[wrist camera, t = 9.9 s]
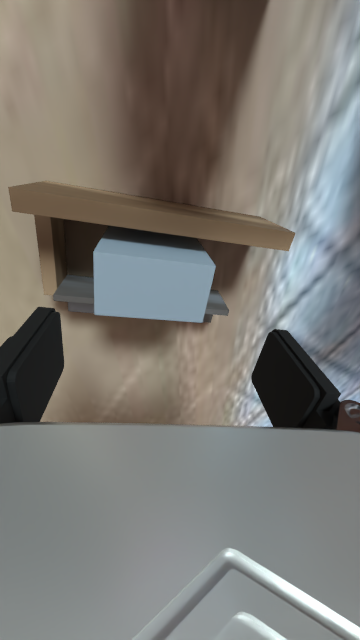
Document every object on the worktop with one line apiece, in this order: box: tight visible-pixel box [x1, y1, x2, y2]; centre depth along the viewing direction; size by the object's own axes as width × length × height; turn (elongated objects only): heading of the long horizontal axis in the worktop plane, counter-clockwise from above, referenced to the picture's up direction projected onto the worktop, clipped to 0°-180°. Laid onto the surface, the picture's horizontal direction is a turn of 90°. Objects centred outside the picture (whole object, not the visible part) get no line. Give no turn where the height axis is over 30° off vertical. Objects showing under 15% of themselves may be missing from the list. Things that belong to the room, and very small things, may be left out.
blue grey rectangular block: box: [93, 225, 216, 323], centre depth 19 cm, size 4×7×8 cm, turn 81°
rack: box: [8, 181, 295, 323], centre depth 20 cm, size 11×17×6 cm, turn 81°
